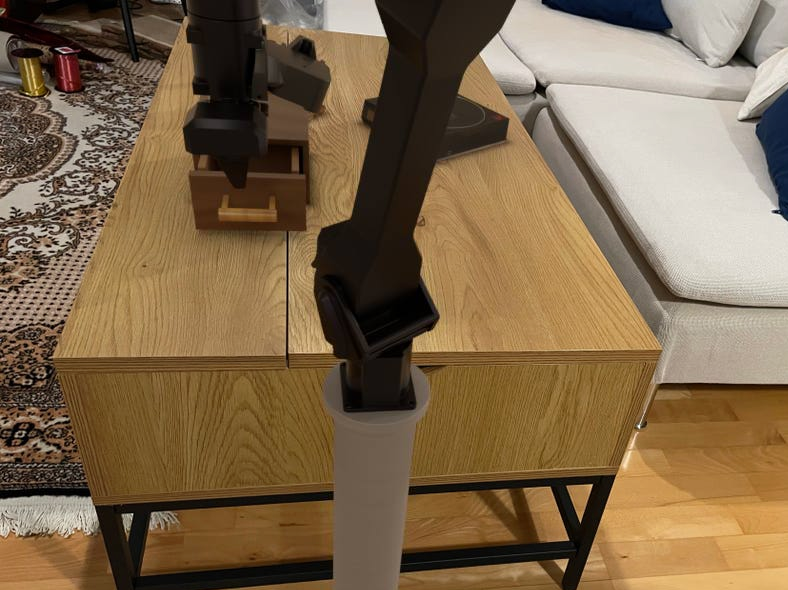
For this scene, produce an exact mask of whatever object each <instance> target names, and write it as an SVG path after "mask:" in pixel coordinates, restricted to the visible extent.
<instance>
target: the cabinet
mask: <svg viewBox="0 0 788 590" xmlns="http://www.w3.org/2000/svg"><path fill="white" fill-rule="evenodd" d="M205 99H209V97H208V96H205V95H199V99H198V102H201V101H202V100H205ZM254 101H256V100H254ZM257 102H263V103H267V104H269V115H268V117H267V121H268V132H267V136H268V144H267V145H289V146H298V152H299V174H305V185H306V205H310V204H311V177H310V176H311V173H310V171H311V169H310V167H311V165H310V164H311V163H310V133H309V132H310V131H309V120H308V116H309V111H306V110H304V108H303V107H302V106H300V105H297V104H295V103H292V102H290V101H287V100H285V99H282V98H280V97H278V96H275V95H268V101H257ZM191 155H192V162H193V170H194V171H198V164H199V160H200V155H194V154H191Z"/></svg>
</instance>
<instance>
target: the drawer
mask: <svg viewBox="0 0 788 590" xmlns="http://www.w3.org/2000/svg"><path fill="white" fill-rule="evenodd" d="M188 171H189V172H188V181H189V189H190V197H191V204H192V213H193V219H194V226H195V230H196V231H199V230H200V231H248V232H249V231H250V232H252V231H254V232H307V229H308V228H307V204H306V185H305V174H299V152H298V146H289V145H267V155H264V156H261V157H250V159H249V166H248V174H247V181H246V188H245V189H235V188H233V186H232V185H231V183H230V181H229V180H228V178H227V177H226V175H225V173H224V172H223V170H222V168H221V167H220V165H219V163H218V162H217V160H216V159H215V157H214V156H213V155H200V160H199V164H198V171H194V169H193V170H192V169H191V170H188Z"/></svg>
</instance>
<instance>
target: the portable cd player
mask: <svg viewBox="0 0 788 590" xmlns="http://www.w3.org/2000/svg"><path fill="white" fill-rule="evenodd" d="M377 100H378V96H375V97H370V98H366V99H364V101H363V106H362V110H361V116H360V118H361V121H362V123H363V125H365V126H366V127H368V128H370V129H371V126H372V122H373V117H374V113H375V108H376V104H377ZM509 125H510V117H508V116H505V115H503V114H501V113H499V112H498V111H495V110H493V109H491V108H489V107H487V106H485V105H482V104H481V103H478V102H476V101H475V100H472V99H470V98H469V97H466V96H464V95H462V94H460V93H458V94H457V97H456V101H455V104H454V107H453V110H452V113H451V116H450V120H449V123H448V126H447V129H446V132H445V135H444V139H443V142H442V145H441V148H440V151H439V154H438V157H437V161H436V163H439V162H441V161H445V160H448V159H452V158H455V157H459V156H462V155H467V154H470V153H473V152H476V151H480V150H483V149H484V150H485V149H487V148H491V147H495V146H498V145H501V144H504V143H506V142H507V137H508V131H509Z"/></svg>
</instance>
